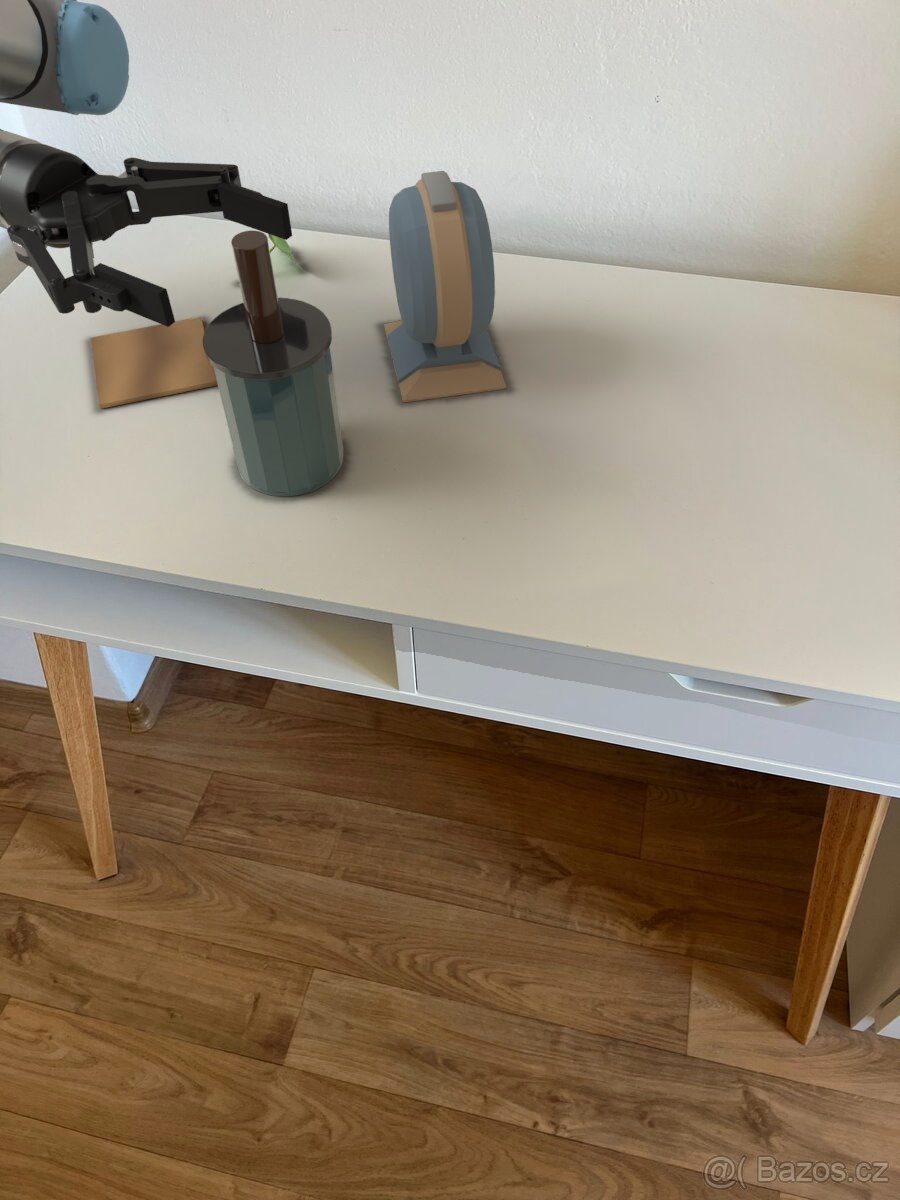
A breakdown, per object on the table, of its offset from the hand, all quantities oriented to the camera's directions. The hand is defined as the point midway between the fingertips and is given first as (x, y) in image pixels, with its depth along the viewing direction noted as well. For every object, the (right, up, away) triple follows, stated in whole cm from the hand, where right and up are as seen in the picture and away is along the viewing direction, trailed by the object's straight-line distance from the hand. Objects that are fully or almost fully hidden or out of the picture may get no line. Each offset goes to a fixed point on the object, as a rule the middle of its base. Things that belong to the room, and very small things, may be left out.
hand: (230, 263), depth 75 cm
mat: (-12, -2, +22) cm, 26 cm away
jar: (+2, -13, +13) cm, 19 cm away
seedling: (-3, +11, +33) cm, 35 cm away
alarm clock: (+16, -2, +22) cm, 28 cm away
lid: (+2, -5, +4) cm, 6 cm away
